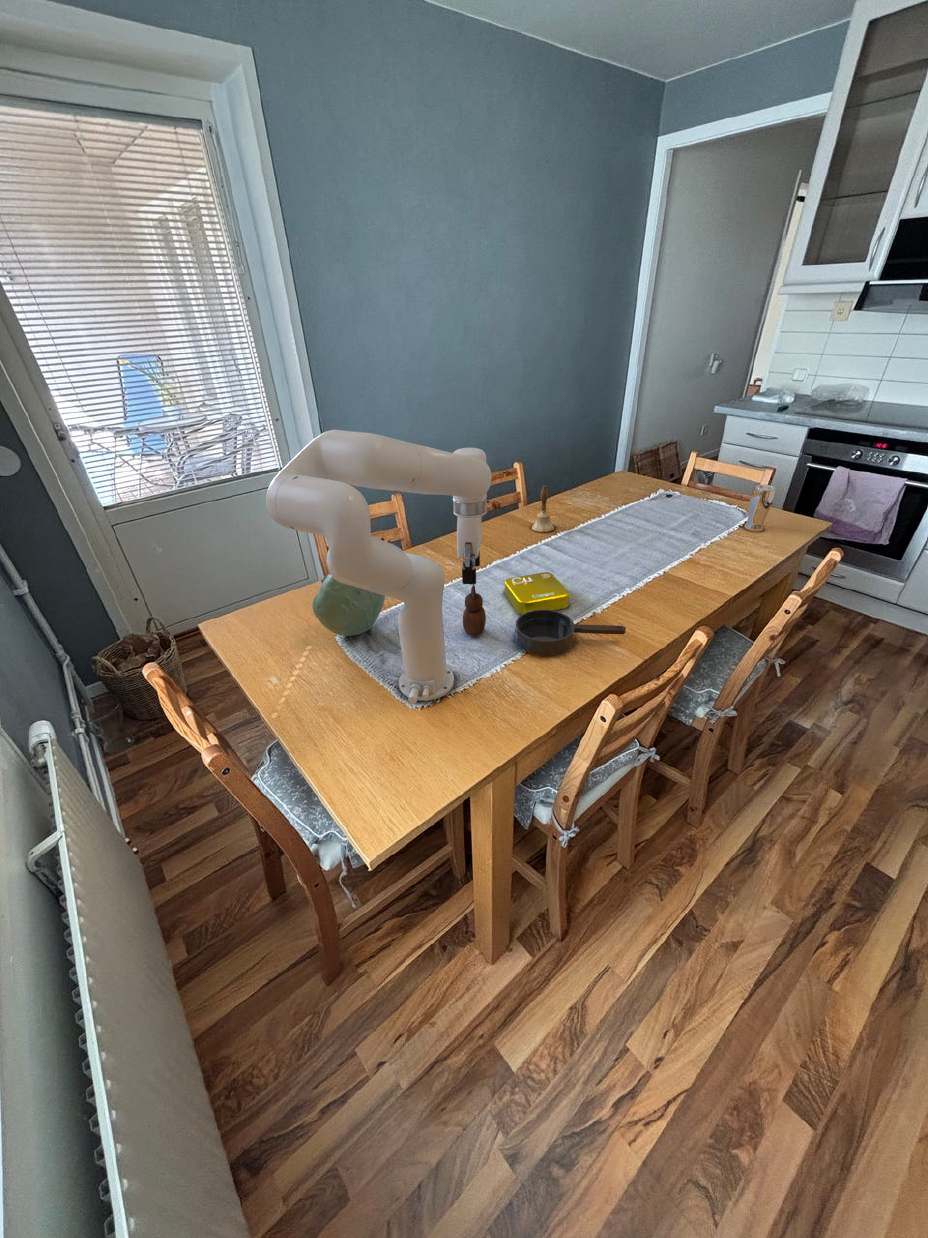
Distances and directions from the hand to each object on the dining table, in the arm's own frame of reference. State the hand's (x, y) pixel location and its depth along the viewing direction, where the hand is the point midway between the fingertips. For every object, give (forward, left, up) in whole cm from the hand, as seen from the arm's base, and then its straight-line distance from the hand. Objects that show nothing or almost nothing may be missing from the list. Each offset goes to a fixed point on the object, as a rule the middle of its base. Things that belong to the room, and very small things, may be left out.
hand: (471, 574), depth 122 cm
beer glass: (+72, -94, -18) cm, 120 cm away
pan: (-2, -18, -18) cm, 25 cm away
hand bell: (+71, -19, -18) cm, 76 cm away
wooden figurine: (+1, 0, -18) cm, 18 cm away
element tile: (+18, -16, -18) cm, 30 cm away
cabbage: (-1, +32, -18) cm, 36 cm away
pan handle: (-2, -32, -15) cm, 35 cm away
